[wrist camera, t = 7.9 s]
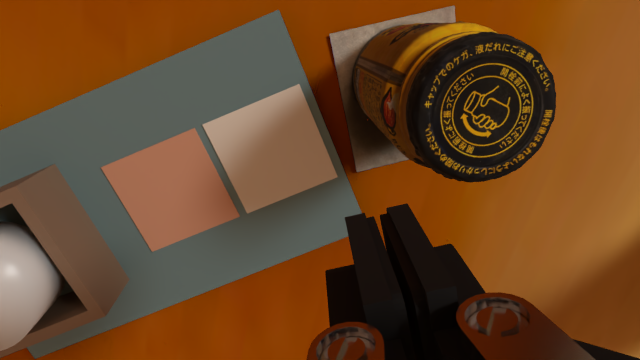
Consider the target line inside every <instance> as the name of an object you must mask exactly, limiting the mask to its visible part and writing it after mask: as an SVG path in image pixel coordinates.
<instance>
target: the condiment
mask: <svg viewBox="0 0 640 360" xmlns="http://www.w3.org/2000/svg"><path fill="white" fill-rule="evenodd" d="M329 35H330V40H331V45H332V50H333V55H334V60H335V65H336V70H337V75H338V81H339V86H340V91H341V96H342V101H343V105H344V111H345V115H346V120H347V125H348V131H349V136H350V141H351V146H352V151H353V155H354V160H355V166H356V171H357V172H360V171H364V170H368V169H371V168H375V167H380V166H384V165H388V164H392V163H396V162H400V161H404V160H409V159H410V160H412V161H414V162H415V163H417V164H419V165H422V166H425V167H428V168H431V169H432V170H433V171H435V172H436V173H438V174H442V175H443V176H444V177H446V178H449V179H456V180H458V181H465V182H481V181H487V180H491V179H497V178H500V177H502V176H505V175H507V174H509V173H511V172H513V171H515V170H517V169H518V168H520V167H521V166H522V165H523V164H524V163H525V162H526V161H528V160H529V159H530V158H531V157H532V156H533V155H534V154H535V153H536V152H537V151H538V150H539V148H540V147H541V146H542V144H543V142H544V139H545V137H546V135H547V133H548V131H549V129H550V126H551V124H552V122H553V121H554V117H555V116H554V115H555V108H556V92H555V83H554V80H553V75H552V73H551V72H550V71H549V70H548V68H547V67H546V65H545V63H544V61H543V59H542V57H541V54H540V53H538V52H537V51H536V50H535V49H534V48H532V47H531V46H529V45H527V44H525V43H524V42H522V41H520V40H518V39H515V38H514V37H512V36H509V35H506V34H498V33H497V32H495V31H493V30H492V29H490V28H488V27H485V26H482V25H478V24H475V23H465V22H462V21H458V22H456V21H455V6H450V7H446V8H442V9H437V10H432V11H428V12H424V13H420V14H415V15H411V16H406V17H402V18H398V19H393V20H389V21H385V22H380V23H376V24H371V25H367V26H363V27H358V28H354V29H350V30H345V31H341V32H337V33H332V34H329ZM367 119H368V121H367Z"/></svg>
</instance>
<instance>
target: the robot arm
mask: <svg viewBox="0 0 640 360" xmlns="http://www.w3.org/2000/svg"><path fill="white" fill-rule="evenodd" d="M380 220H381V225H382V230H383V235H384V240H385V245H386V248H385V246H384V243H383V240H382V238H381V235H380V232H379V229H378V227H377V224H376V221H375V219H374V216H373V217H369V218H366V216H365V213H362V214H357V215H353V216H348V217H345V222H346V226H347V231H348V236H349V241H350V246H351V250H352V255H353V260H354V265H349V266H344V267H340V268H335V269H330V270H326V285H327V297H328V309H329V321H330V327H329V328H327V329H326V330H324V331H323V332H321V333H320V334H319V335H317V337H316V338H315V339H314V340H313V341H312V343H311V345H310V348H309V350H308V355H307V360H640V359H639V358H635V357H632V356H629V355H625V354H622V353H618V352H615V351H611V350H608V349H605V348H601V347H598V346H594V345H591V344H587V343H584V342H581V341H577V340H574V339H571V338H570V337H569V336H568V335H567V334H566V333H565V332H563V331H562V330H561V329H560V328H559V327H558V326H556V325H555V324H554V323H553V322H552V321H551V320H550V319H548V318H547V317H546V316H545V315H544V314H543V313H542V312H540V311H539V310H538V309H537V308H536V307H535V306H534V305H532V304H531V303H529V302H528V301H526V300H525V299H523V298H520V297H518V296H515V295H512V294H506V293H485V291H484V290H483V288H482V287H481V285H480V284H479V282H478V281H477V280H476V278H475V277H474V275H473V274H472V272H471V271H470V269H469V268H468V267H467V265H466V264H465V262H464V261H463V259H462V258H461V256H460V255H459V253H458V252H457V251H456V249H455V248H454V246H453V245H452V244H447V245H442V246H438V247H433V246H432V244H431V243H430V241H429V239H428V238H427V236H426V234H425V233H424V231H423V229H422V228H421V226H420V224H419V223H418V221H417V219H416V217H415V216H414V214H413V212H412V211H411V209H410V207H409V206H408V204H403V205H398V206H394V207H389V208H387V214H383V215H380ZM386 250H387V251H386Z"/></svg>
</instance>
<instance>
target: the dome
mask: <svg viewBox="0 0 640 360" xmlns="http://www.w3.org/2000/svg"><path fill="white" fill-rule="evenodd" d="M64 283H65V277H64V276H63V275H62V273H61V272H60V270H59V269H58V268H57V266H56V265H55V263H54V262H53V260H52V259H51V258H50V256H49V255H48V253H47V252H46V251H45V249H44V248H43V246H42V245H41V243H40V242H39V241H38V239H37V238H36V236H35V235H34V233H33V232H32V231H31V229H29V228H27V227H25V226H22V225H19V224H15V223H11V222H3V221H0V351H2V350H5V349H8V348H10V347H12V346H14V345H15V344H17V343H18V342H20V341H21V340H22V339H23V338H24V337H25V336H26V335H27V334H28V332H29V331H30V330H31V329H32V328H33V327H34V325H35V324H36V323H37V322H38V321H39V320H40V318H41V317H42V316H43V315H44V314H45V313H46V312H47V310H48V309H49V308H50V307H51V306H52V305H53V303H54V302H55V301H56V300H57V299H58V297H59V296H60V294H61V293H62V290H63V288H64Z"/></svg>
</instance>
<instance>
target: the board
mask: <svg viewBox="0 0 640 360" xmlns="http://www.w3.org/2000/svg"><path fill="white" fill-rule="evenodd" d="M357 214H362V213H361V210H360V208H359V205H358V203H357V201H356V198H355V196H354V193H353V191H352V188H351V186H350V183H349V181H348V178H347V176H346V173H345V171H344V169H343V166H342V164H341V161H340V159H339V156H338V154H337V151H336V149H335V146H334V144H333V142H332V139H331V137H330V134H329V132H328V129H327V127H326V124H325V122H324V119H323V117H322V115H321V112H320V110H319V107H318V105H317V102H316V100H315V97H314V95H313V92H312V90H311V88H310V85H309V83H308V80H307V78H306V75H305V73H304V70H303V68H302V65H301V63H300V60H299V58H298V56H297V53H296V51H295V48H294V46H293V43H292V41H291V38H290V36H289V33H288V31H287V29H286V26H285V24H284V21H283V19H282V16H281V14H280V11H279V10H277V11H274V12H272V13H270V14H268V15H265V16H263V17H261V18H258V19H256V20H254V21H251V22H249V23H247V24H245V25H242V26H240V27H238V28H235V29H233V30H231V31H228V32H226V33H224V34H222V35H219V36H217V37H215V38H212V39H210V40H208V41H205V42H203V43H201V44H199V45H196V46H194V47H192V48H189V49H187V50H185V51H182V52H180V53H178V54H176V55H173V56H171V57H169V58H166V59H164V60H162V61H159V62H157V63H155V64H153V65H150V66H148V67H146V68H143V69H141V70H139V71H136V72H134V73H132V74H130V75H127V76H125V77H123V78H120V79H118V80H116V81H113V82H111V83H109V84H107V85H104V86H102V87H100V88H97V89H95V90H93V91H90V92H88V93H86V94H84V95H81V96H79V97H77V98H74V99H72V100H70V101H67V102H65V103H63V104H61V105H58V106H56V107H54V108H51V109H49V110H47V111H44V112H42V113H40V114H38V115H35V116H33V117H31V118H28V119H26V120H24V121H21V122H19V123H17V124H15V125H12V126H10V127H8V128H5V129H3V130H1V131H0V221H3V222H11V223H15V224H19V225H22V226H25V227H27V228H29V229H31V231H32V232H33V233H34V235H35V236H36V238H37V239H38V241H39V242H40V243H41V245H42V246H43V248H44V249H45V251H46V252H47V253H48V255H49V256H50V258H51V259H52V260H53V262H54V263H55V265H56V266H57V268H58V269H59V270H60V272H61V273H62V275H63V276H64V277H65V283H64V288H63V290H62V293H61V294H60V296H59V297H58V299H57V300H56V301H55V302H54V303H53V305H52V306H51V307H50V308H49V309H48V310H47V312H46V313H45V314H44V315H43V316H42V317H41V318H40V320H39V321H38V322H37V323H36V324H35V325H34V327H33V328H32V329H31V330H30V331H29V332H28V334H27V335H26V336H25V337H24V338H23V339H22V340H21V341H20V342H18V343H17V344H15V345H14V346H12V347H10V348H8V349H5V350H2V351H0V358H1V357H4V356H6V355H9V354H11V353H14V352H16V351H19V350H21V349H24V348H27V349H28V350H29V352H30V353H31V354H32V356H33V357H34V358H35V359H36V358H39V357H41V356H44V355H46V354H49V353H52V352H54V351H57V350H59V349H62V348H64V347H67V346H69V345H72V344H74V343H77V342H80V341H82V340H85V339H87V338H90V337H92V336H95V335H97V334H100V333H102V332H105V331H108V330H110V329H113V328H115V327H118V326H120V325H123V324H125V323H128V322H131V321H133V320H136V319H138V318H141V317H143V316H146V315H148V314H151V313H153V312H156V311H159V310H161V309H164V308H166V307H169V306H171V305H174V304H176V303H179V302H181V301H184V300H187V299H189V298H192V297H194V296H197V295H199V294H202V293H204V292H207V291H210V290H212V289H215V288H217V287H220V286H222V285H225V284H227V283H230V282H232V281H235V280H238V279H240V278H243V277H245V276H248V275H250V274H253V273H255V272H258V271H261V270H263V269H266V268H268V267H271V266H273V265H276V264H278V263H281V262H283V261H286V260H289V259H291V258H294V257H296V256H299V255H301V254H304V253H306V252H309V251H311V250H314V249H317V248H319V247H322V246H324V245H327V244H329V243H332V242H334V241H337V240H340V239H342V238H345V237H347V236H348V231H347V226H346V222H345V217H348V216H353V215H357Z"/></svg>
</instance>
